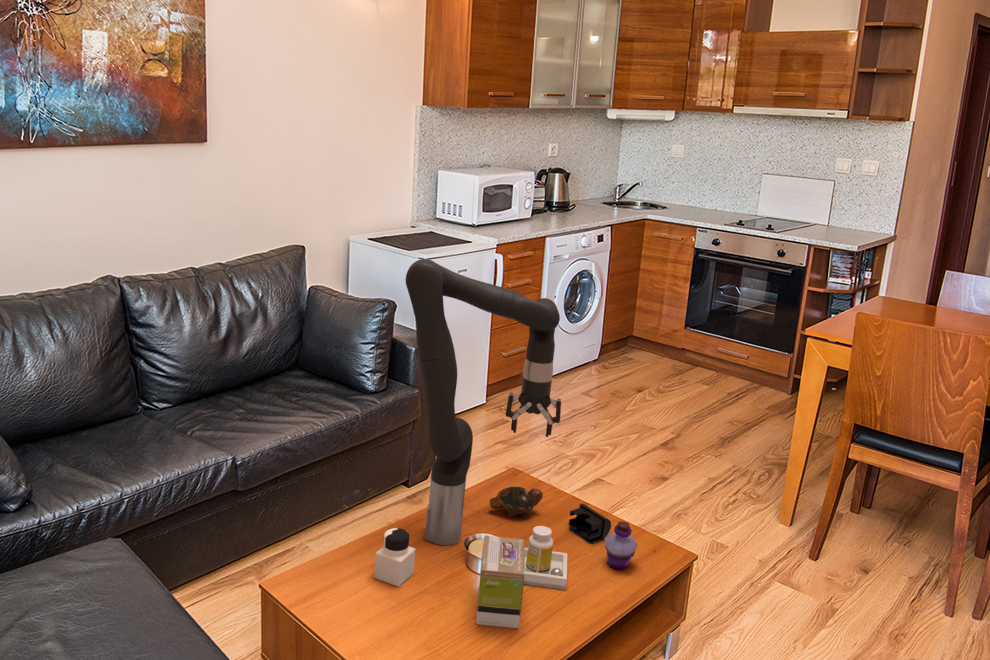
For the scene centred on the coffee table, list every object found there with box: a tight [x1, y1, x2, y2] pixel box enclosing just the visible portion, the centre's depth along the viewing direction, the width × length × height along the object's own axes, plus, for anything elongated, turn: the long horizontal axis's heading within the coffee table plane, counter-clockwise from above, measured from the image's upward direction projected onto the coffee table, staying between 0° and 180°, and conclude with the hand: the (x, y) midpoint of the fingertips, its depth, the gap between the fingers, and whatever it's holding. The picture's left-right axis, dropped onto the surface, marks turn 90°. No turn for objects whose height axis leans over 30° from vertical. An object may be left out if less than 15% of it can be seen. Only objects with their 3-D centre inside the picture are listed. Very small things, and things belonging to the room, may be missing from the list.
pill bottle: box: [526, 525, 554, 574], centre depth 210 cm, size 6×6×11 cm
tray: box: [523, 547, 568, 591], centre depth 212 cm, size 14×12×3 cm
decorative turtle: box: [489, 486, 544, 519], centre depth 239 cm, size 10×15×8 cm, turn 102°
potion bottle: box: [604, 520, 639, 571], centre depth 218 cm, size 9×9×12 cm
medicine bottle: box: [374, 527, 416, 587], centre depth 203 cm, size 7×7×12 cm
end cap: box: [568, 503, 612, 545], centre depth 232 cm, size 10×7×7 cm
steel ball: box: [551, 568, 563, 576], centre depth 208 cm, size 3×3×3 cm
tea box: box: [475, 535, 525, 629], centre depth 194 cm, size 15×10×15 cm
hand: (530, 433), depth 220 cm, fingers open, 8 cm apart
